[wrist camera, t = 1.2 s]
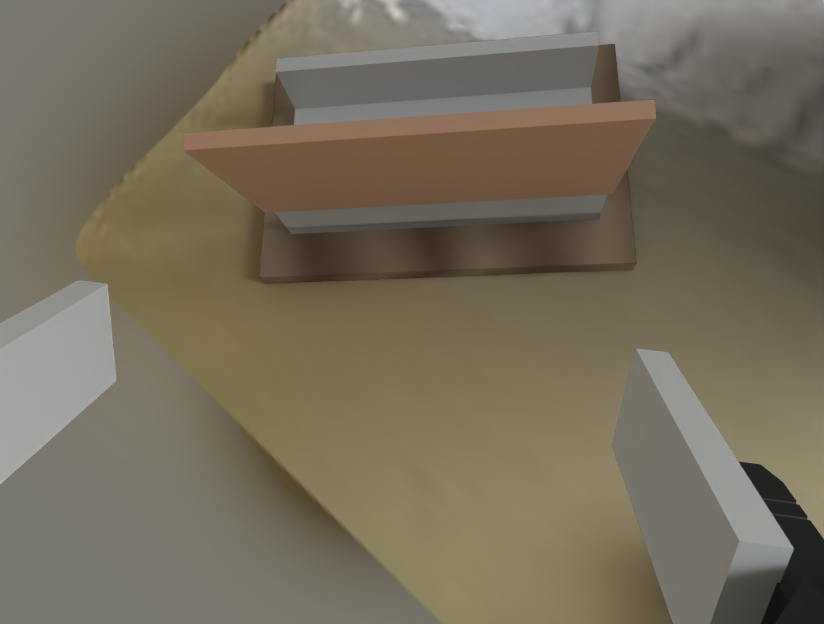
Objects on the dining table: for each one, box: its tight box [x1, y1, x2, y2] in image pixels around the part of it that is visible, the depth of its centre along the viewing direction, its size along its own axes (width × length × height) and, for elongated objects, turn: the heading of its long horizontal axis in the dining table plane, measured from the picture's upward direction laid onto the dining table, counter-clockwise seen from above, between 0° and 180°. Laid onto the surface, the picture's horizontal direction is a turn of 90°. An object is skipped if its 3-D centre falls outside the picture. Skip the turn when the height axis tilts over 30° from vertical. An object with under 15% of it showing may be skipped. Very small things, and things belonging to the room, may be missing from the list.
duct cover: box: [184, 99, 656, 213], centre depth 32 cm, size 20×10×1 cm
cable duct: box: [275, 31, 607, 234], centre depth 41 cm, size 20×10×5 cm, turn 90°
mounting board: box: [259, 44, 637, 283], centre depth 44 cm, size 24×16×1 cm, turn 90°
